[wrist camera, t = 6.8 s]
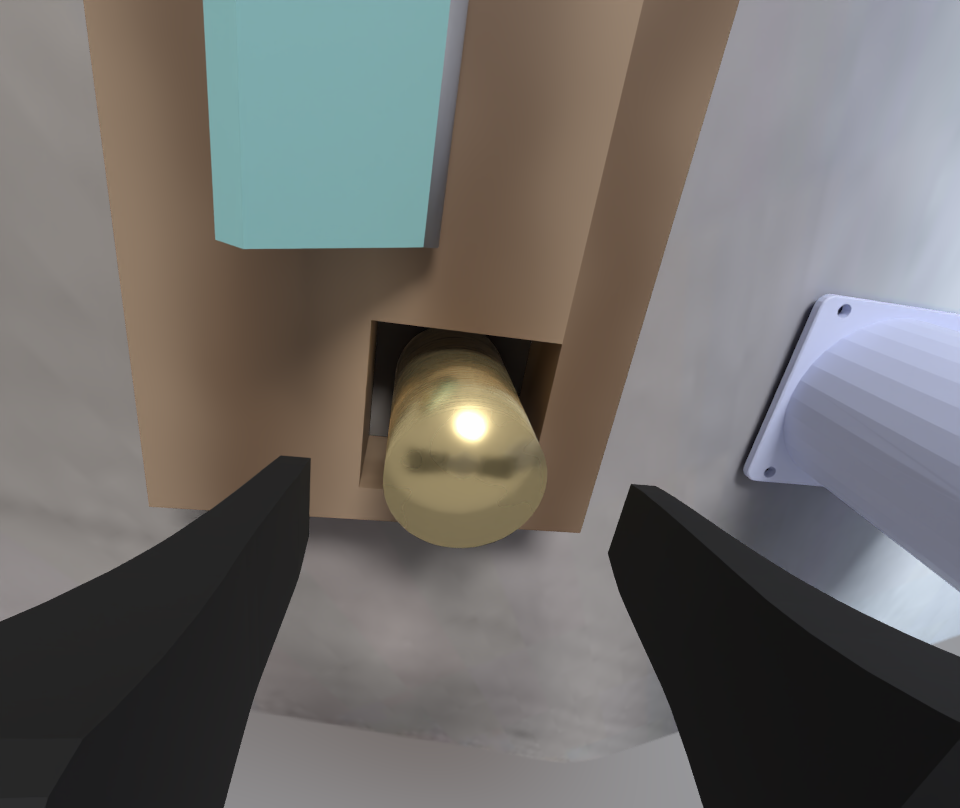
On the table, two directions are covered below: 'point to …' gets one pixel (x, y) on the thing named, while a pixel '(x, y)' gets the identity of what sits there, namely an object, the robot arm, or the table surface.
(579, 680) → the table surface
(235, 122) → the teal flat square block
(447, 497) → the peg
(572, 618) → the table surface
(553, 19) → the block
